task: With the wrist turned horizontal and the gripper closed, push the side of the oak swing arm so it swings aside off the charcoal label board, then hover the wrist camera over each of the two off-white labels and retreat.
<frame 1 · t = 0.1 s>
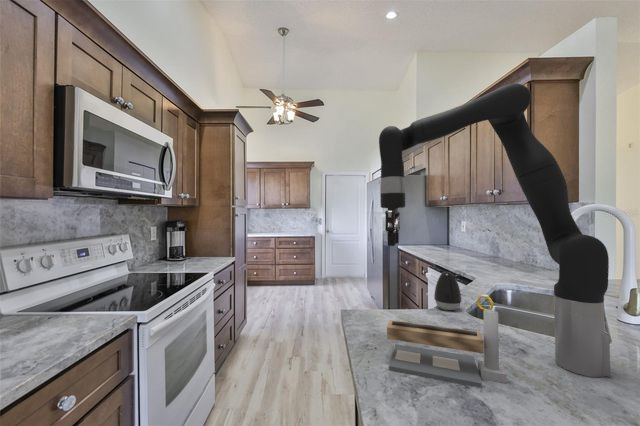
hand: (393, 244, 87), 29 cm above the countertop, tool pointing down, fingers open, 8 cm apart
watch: (485, 310, 114), on the countertop
black egg-shaped device: (448, 309, 115), on the countertop
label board: (491, 375, 66), on the countertop
swing arm: (432, 334, 71), point 8 cm above the countertop, hinge at 0.0°
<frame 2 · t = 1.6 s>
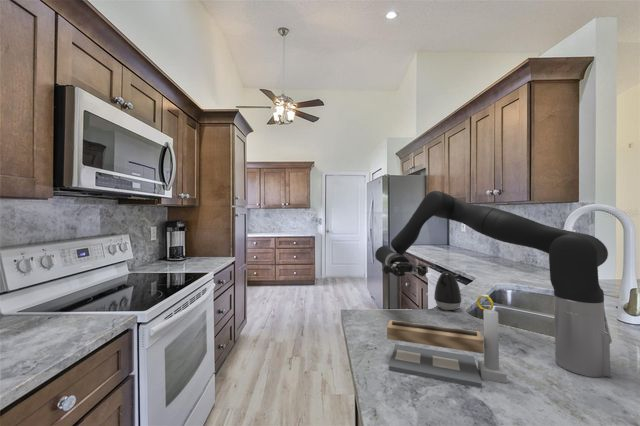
hand: (410, 272, 88), 20 cm above the countertop, tool horizontal, fingers open, 7 cm apart
nothing on the countertop moved.
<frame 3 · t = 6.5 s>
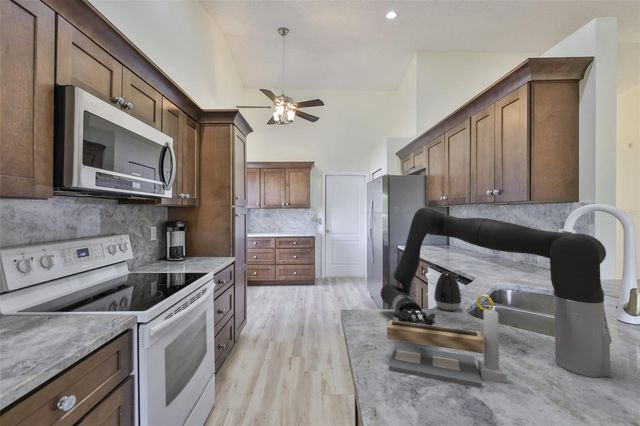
hand: (424, 329, 75), 7 cm above the countertop, tool horizontal, fingers closed
swing arm: (432, 334, 71), point 8 cm above the countertop, hinge at 0.0°, touching gripper
everything else where it was.
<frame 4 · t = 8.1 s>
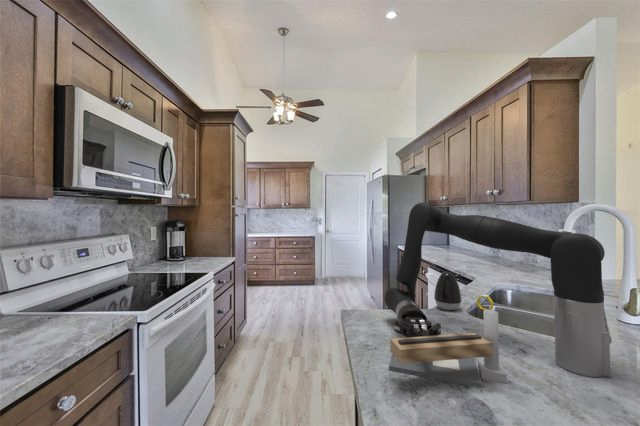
hand: (426, 342, 67), 7 cm above the countertop, tool horizontal, fingers closed
swing arm: (440, 346, 65), point 8 cm above the countertop, hinge at 29.9°, touching gripper
everything else where it was.
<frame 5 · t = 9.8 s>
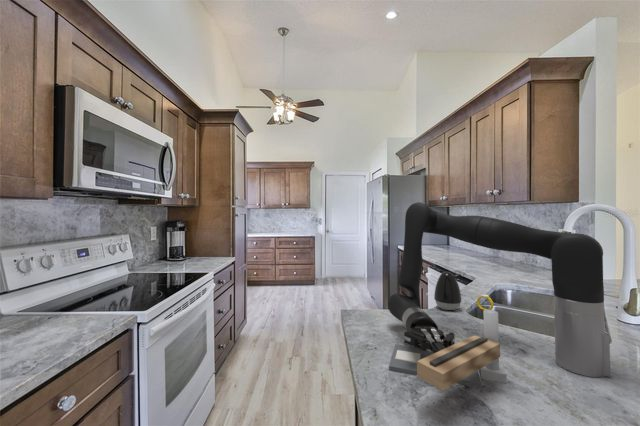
hand: (442, 355, 61), 7 cm above the countertop, tool horizontal, fingers closed
swing arm: (461, 357, 59), point 8 cm above the countertop, hinge at 55.6°, touching gripper
everything else where it was.
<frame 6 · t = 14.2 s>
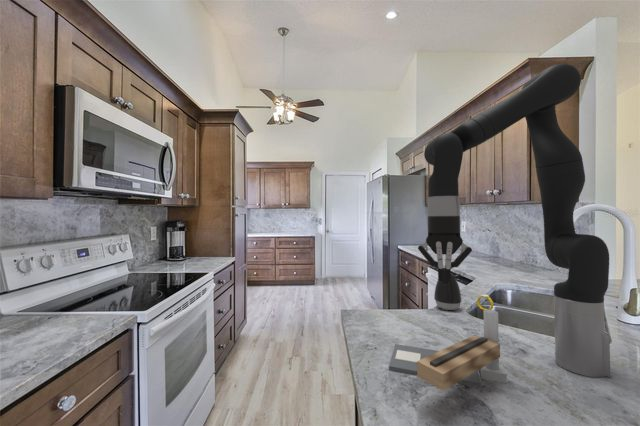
hand: (444, 283, 71), 21 cm above the countertop, tool pointing down, fingers closed
swing arm: (461, 357, 59), point 8 cm above the countertop, hinge at 55.7°
everything else where it was.
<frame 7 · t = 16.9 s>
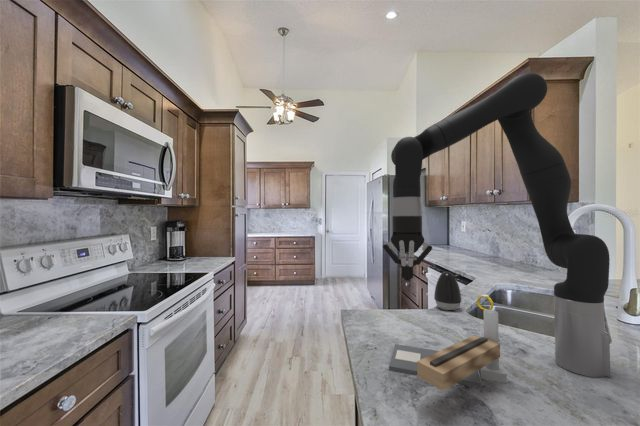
hand: (407, 280, 74), 21 cm above the countertop, tool pointing down, fingers closed
nothing on the countertop moved.
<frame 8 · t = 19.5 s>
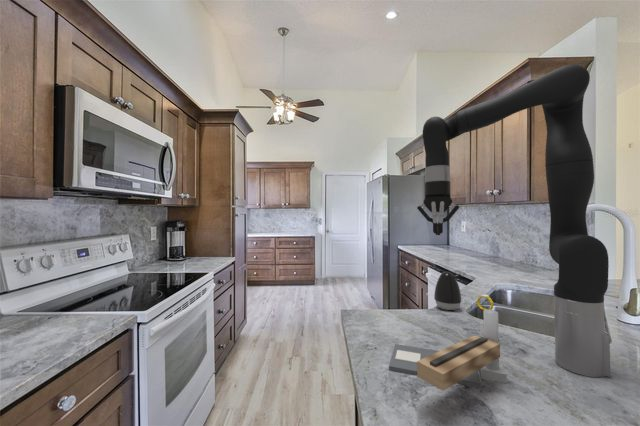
hand: (438, 234, 90), 32 cm above the countertop, tool pointing down, fingers closed
nothing on the countertop moved.
at the end: swing arm at +56° (first picture: +0°); black egg-shaped device moved 0.2 cm from its start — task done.
